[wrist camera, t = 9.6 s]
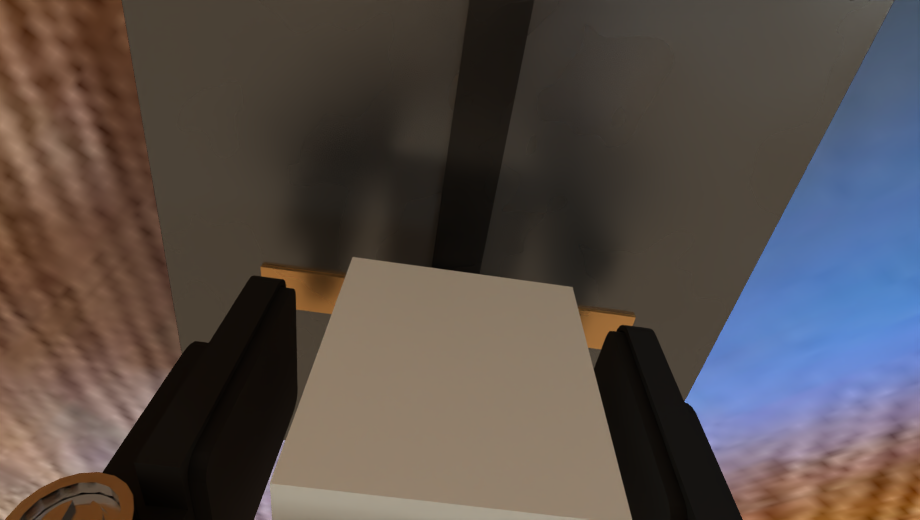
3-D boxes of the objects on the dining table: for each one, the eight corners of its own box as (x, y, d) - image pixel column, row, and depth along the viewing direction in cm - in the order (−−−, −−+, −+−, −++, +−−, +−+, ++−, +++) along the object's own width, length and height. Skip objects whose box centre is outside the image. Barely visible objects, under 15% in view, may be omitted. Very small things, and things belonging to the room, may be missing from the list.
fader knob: (369, 210, 10) (269, 483, 5) (559, 237, 10) (632, 524, 5) (357, 402, 12) (284, 699, 8) (507, 420, 13) (525, 721, 8)
